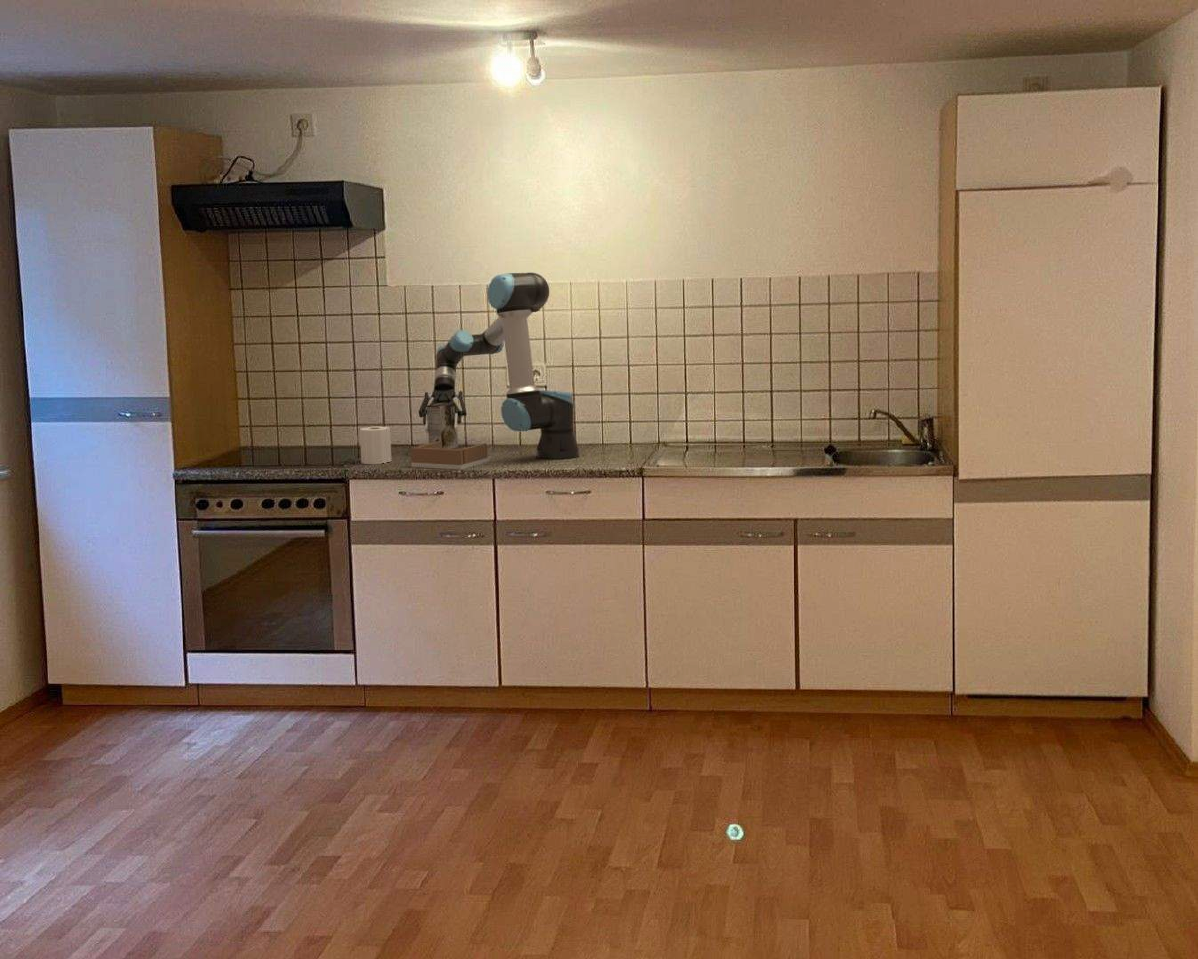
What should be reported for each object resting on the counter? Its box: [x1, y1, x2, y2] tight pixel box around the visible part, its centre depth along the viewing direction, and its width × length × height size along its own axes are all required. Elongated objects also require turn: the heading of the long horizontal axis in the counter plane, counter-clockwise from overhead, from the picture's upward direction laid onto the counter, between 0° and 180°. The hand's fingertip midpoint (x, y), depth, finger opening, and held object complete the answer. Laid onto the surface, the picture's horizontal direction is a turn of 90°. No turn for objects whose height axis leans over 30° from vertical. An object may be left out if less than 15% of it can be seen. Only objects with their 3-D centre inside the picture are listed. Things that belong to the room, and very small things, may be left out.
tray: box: [410, 441, 490, 470], centre depth 504 cm, size 20×18×6 cm
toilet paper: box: [359, 426, 392, 465], centre depth 513 cm, size 10×10×12 cm
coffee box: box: [426, 402, 459, 449], centre depth 523 cm, size 9×6×16 cm
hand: (441, 430), depth 520 cm, fingers closed on coffee box, 10 cm apart
